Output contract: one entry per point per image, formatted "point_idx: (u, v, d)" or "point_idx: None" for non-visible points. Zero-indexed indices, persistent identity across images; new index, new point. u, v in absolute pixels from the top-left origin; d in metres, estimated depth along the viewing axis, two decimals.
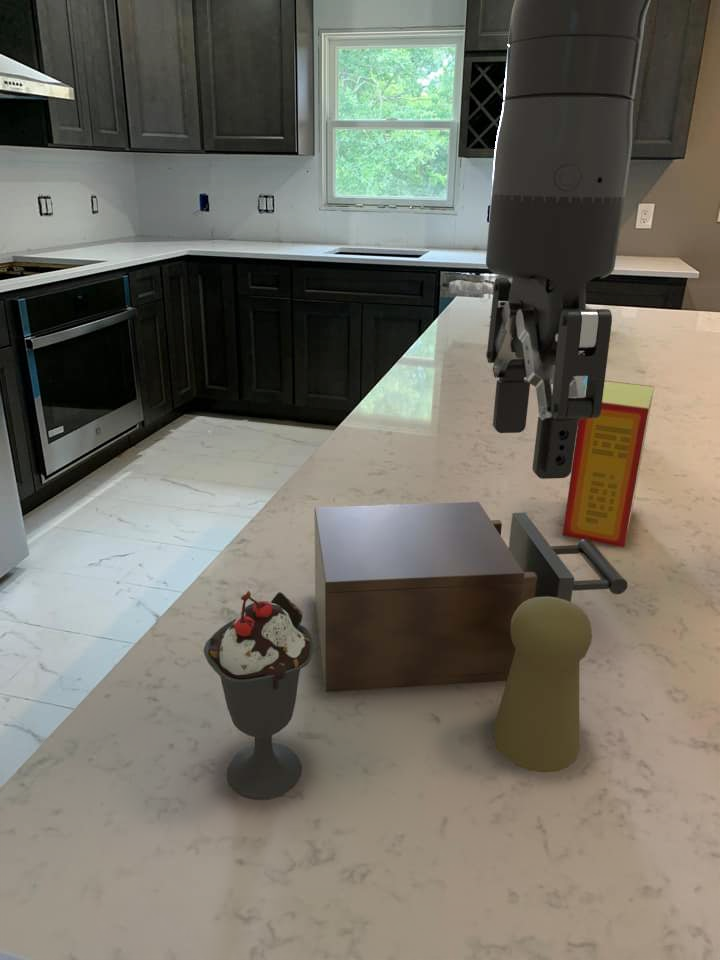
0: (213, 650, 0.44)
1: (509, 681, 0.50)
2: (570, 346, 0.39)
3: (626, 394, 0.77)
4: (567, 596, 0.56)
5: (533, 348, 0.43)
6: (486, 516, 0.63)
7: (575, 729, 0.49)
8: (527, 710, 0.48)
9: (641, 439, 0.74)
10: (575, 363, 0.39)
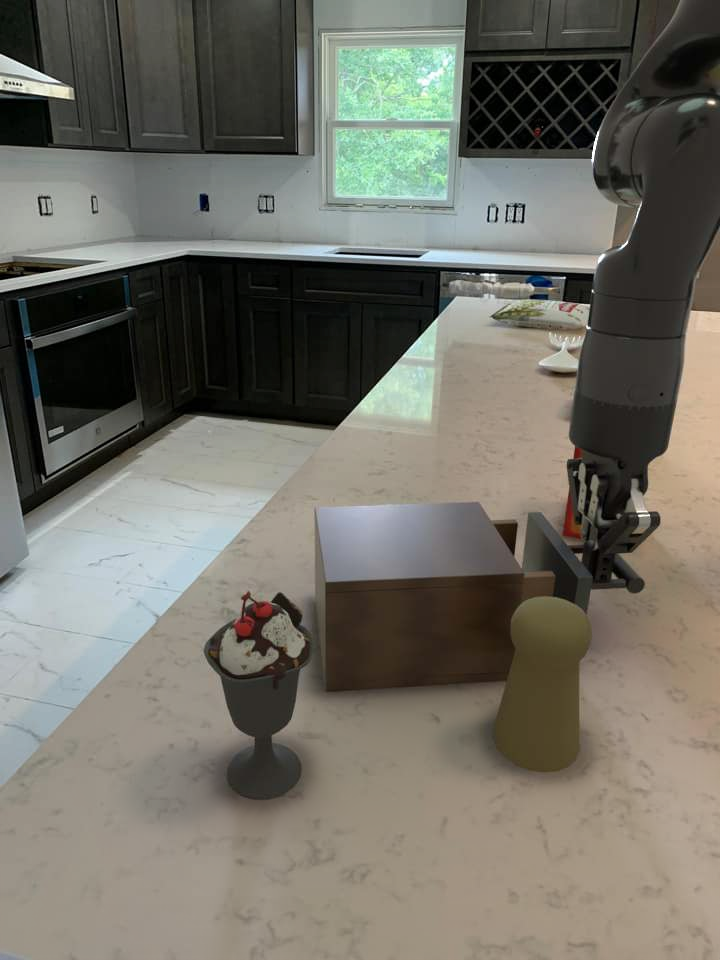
0: (213, 650, 0.44)
1: (509, 681, 0.50)
2: (624, 534, 0.55)
3: None
4: (585, 595, 0.56)
5: (598, 509, 0.58)
6: (486, 516, 0.63)
7: (575, 729, 0.49)
8: (527, 710, 0.48)
9: None
10: (624, 539, 0.56)
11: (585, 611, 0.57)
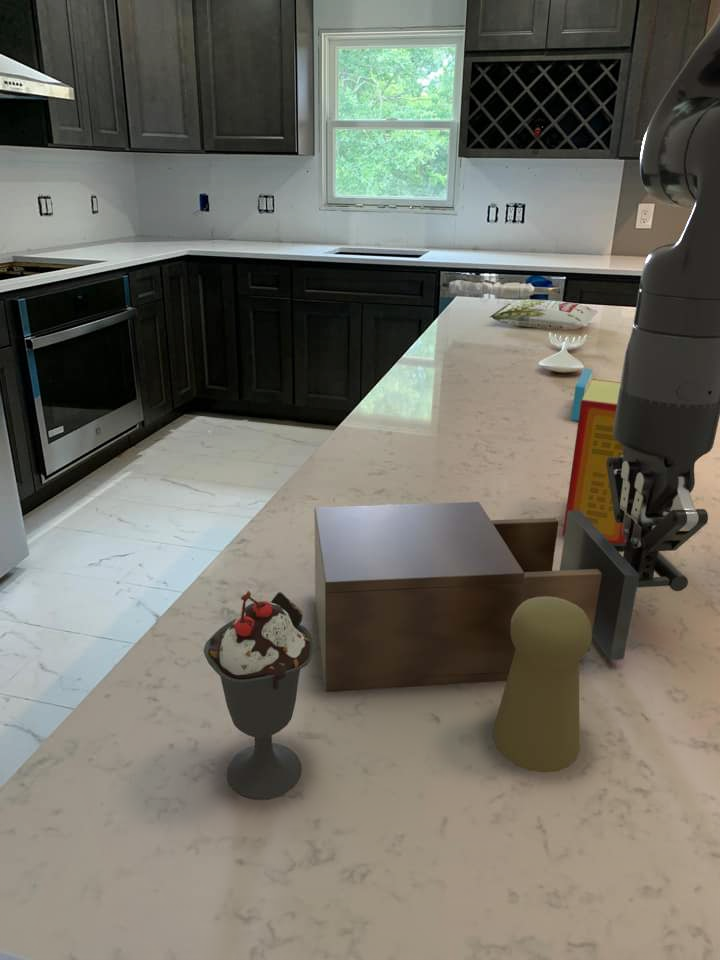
0: (213, 650, 0.44)
1: (509, 681, 0.50)
2: (671, 531, 0.55)
3: None
4: (631, 593, 0.57)
5: (642, 507, 0.58)
6: (486, 516, 0.63)
7: (575, 729, 0.49)
8: (527, 710, 0.48)
9: None
10: (670, 537, 0.56)
11: (631, 609, 0.57)
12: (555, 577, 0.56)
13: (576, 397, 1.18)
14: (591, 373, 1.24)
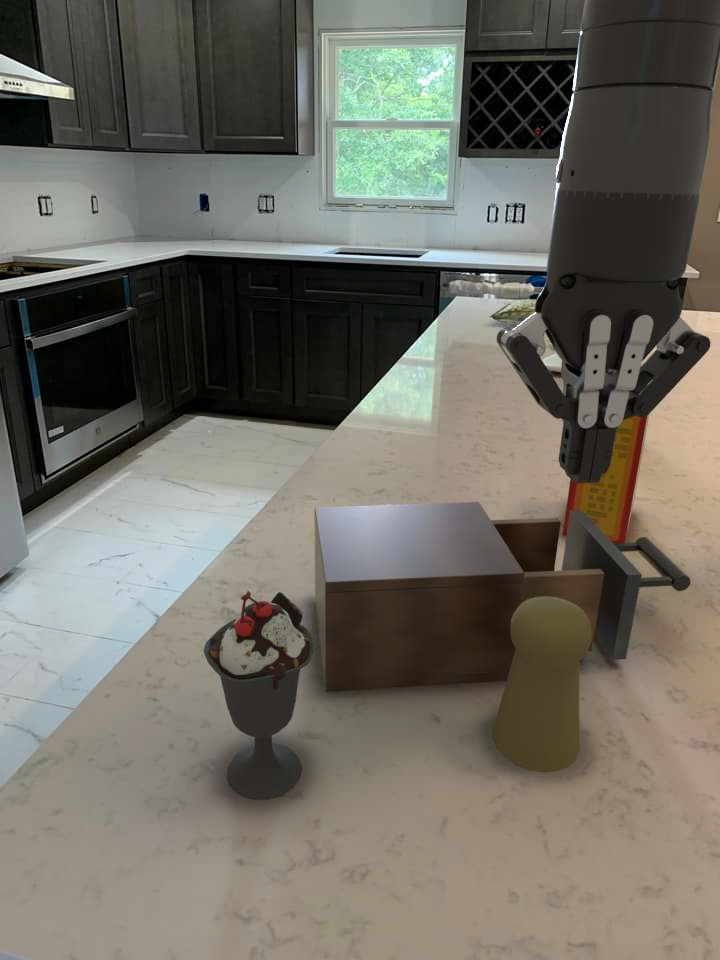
0: (213, 650, 0.44)
1: (509, 681, 0.50)
2: (510, 360, 0.44)
3: None
4: (634, 593, 0.57)
5: None
6: (486, 516, 0.63)
7: (575, 729, 0.49)
8: (527, 710, 0.48)
9: (641, 439, 0.74)
10: (520, 374, 0.44)
11: (633, 608, 0.57)
12: (557, 576, 0.56)
13: None
14: None
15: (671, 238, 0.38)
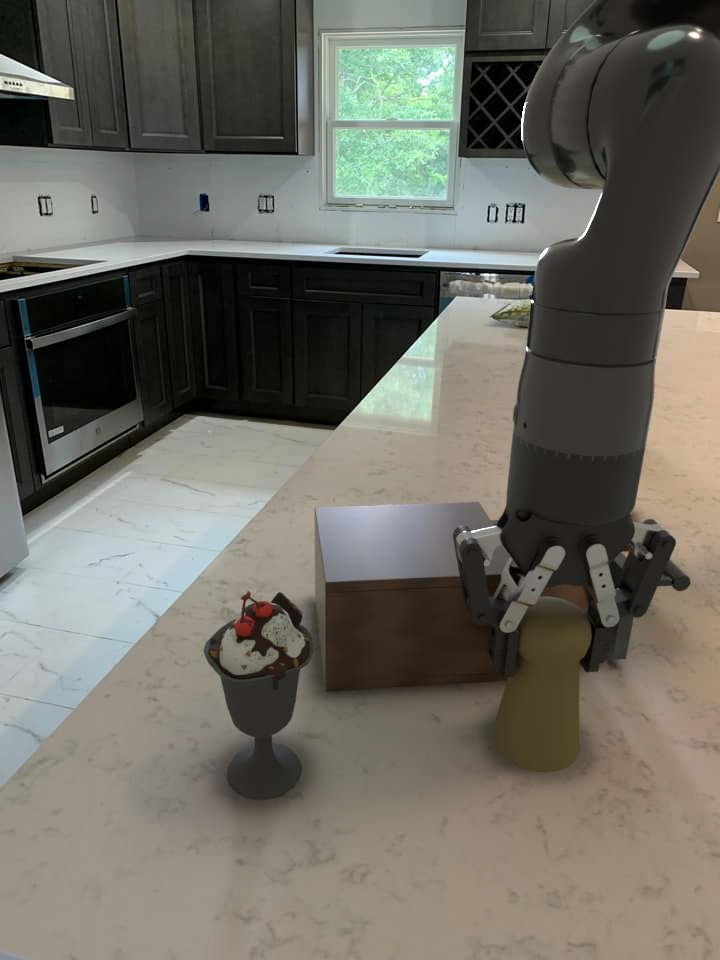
0: (213, 650, 0.44)
1: (509, 681, 0.50)
2: (457, 555, 0.46)
3: None
4: None
5: None
6: (486, 516, 0.63)
7: (575, 729, 0.49)
8: (527, 710, 0.48)
9: None
10: (460, 570, 0.46)
11: None
12: None
13: None
14: None
15: (616, 491, 0.40)
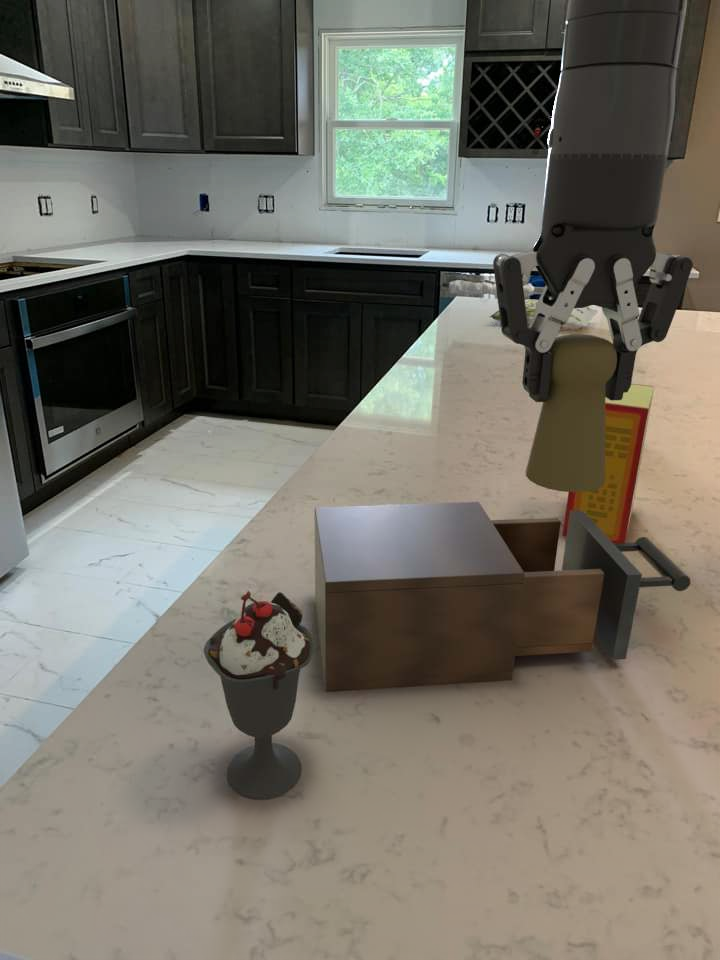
0: (213, 650, 0.44)
1: (541, 413, 0.55)
2: (497, 283, 0.51)
3: (626, 394, 0.77)
4: (634, 593, 0.57)
5: (546, 287, 0.53)
6: (486, 516, 0.63)
7: (602, 453, 0.55)
8: (559, 432, 0.54)
9: (641, 439, 0.74)
10: (499, 296, 0.52)
11: (633, 608, 0.57)
12: (557, 576, 0.56)
13: None
14: None
15: (642, 191, 0.46)
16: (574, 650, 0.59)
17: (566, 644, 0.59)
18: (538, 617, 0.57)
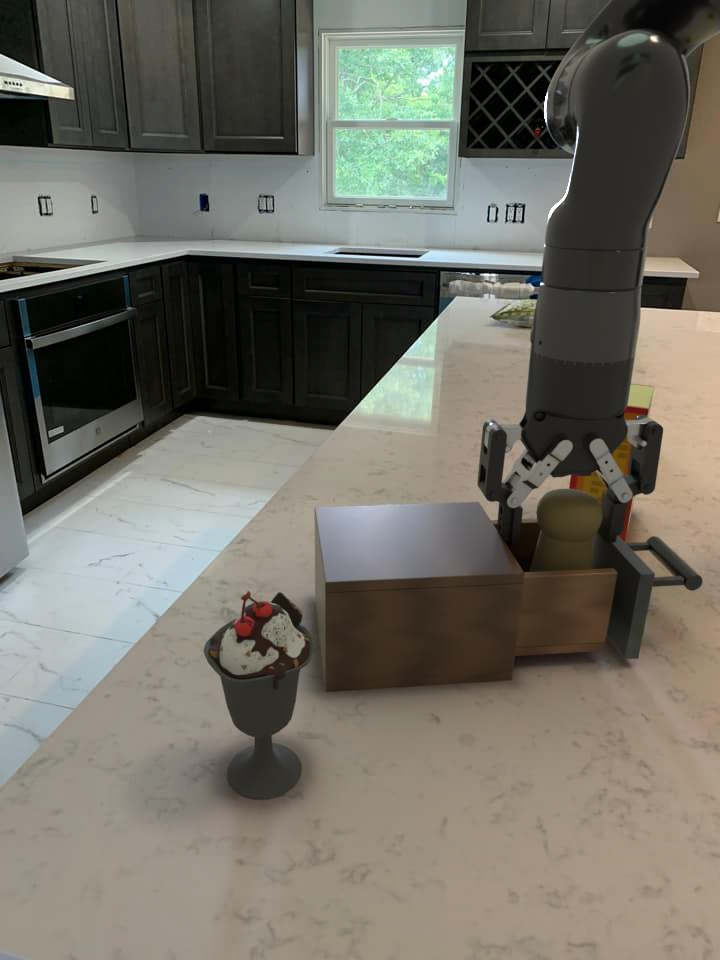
0: (213, 650, 0.44)
1: (535, 558, 0.61)
2: (482, 443, 0.58)
3: None
4: (647, 592, 0.57)
5: (526, 449, 0.59)
6: (486, 516, 0.63)
7: None
8: None
9: None
10: (482, 455, 0.58)
11: (646, 608, 0.57)
12: (571, 576, 0.56)
13: None
14: None
15: (612, 391, 0.52)
16: (587, 649, 0.59)
17: (578, 643, 0.59)
18: (551, 617, 0.58)
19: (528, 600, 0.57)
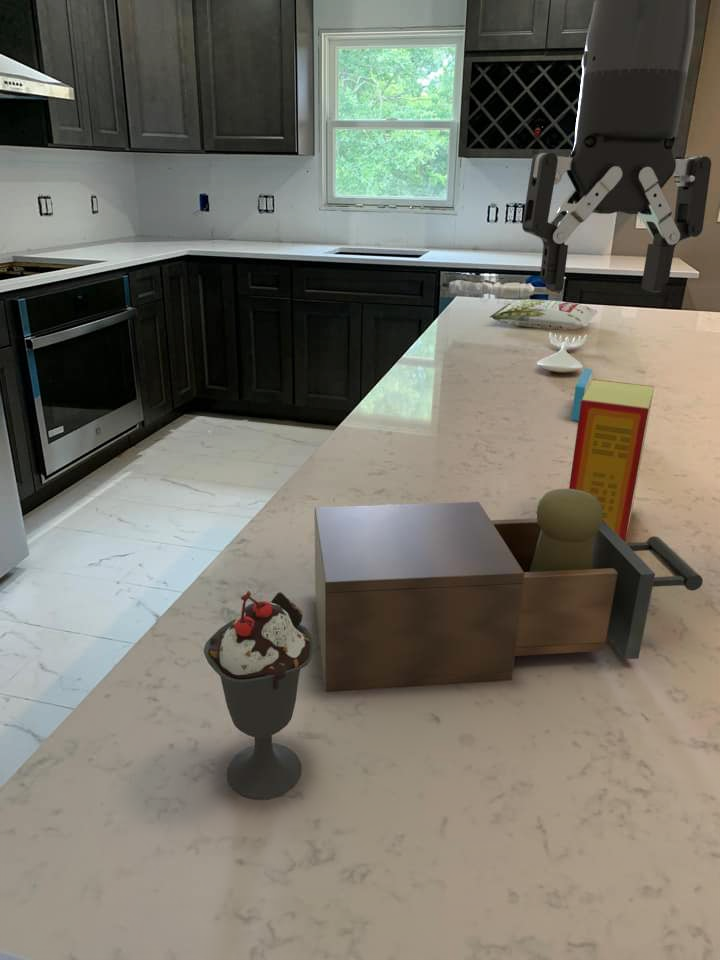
0: (213, 650, 0.44)
1: (535, 558, 0.61)
2: (531, 178, 0.58)
3: (626, 394, 0.77)
4: (647, 592, 0.57)
5: (573, 191, 0.59)
6: (486, 516, 0.63)
7: None
8: None
9: (641, 439, 0.74)
10: (530, 190, 0.58)
11: (646, 608, 0.57)
12: (571, 576, 0.56)
13: (576, 397, 1.18)
14: (591, 373, 1.24)
15: (665, 103, 0.53)
16: (587, 649, 0.59)
17: (578, 643, 0.59)
18: (551, 617, 0.58)
19: (528, 600, 0.57)
